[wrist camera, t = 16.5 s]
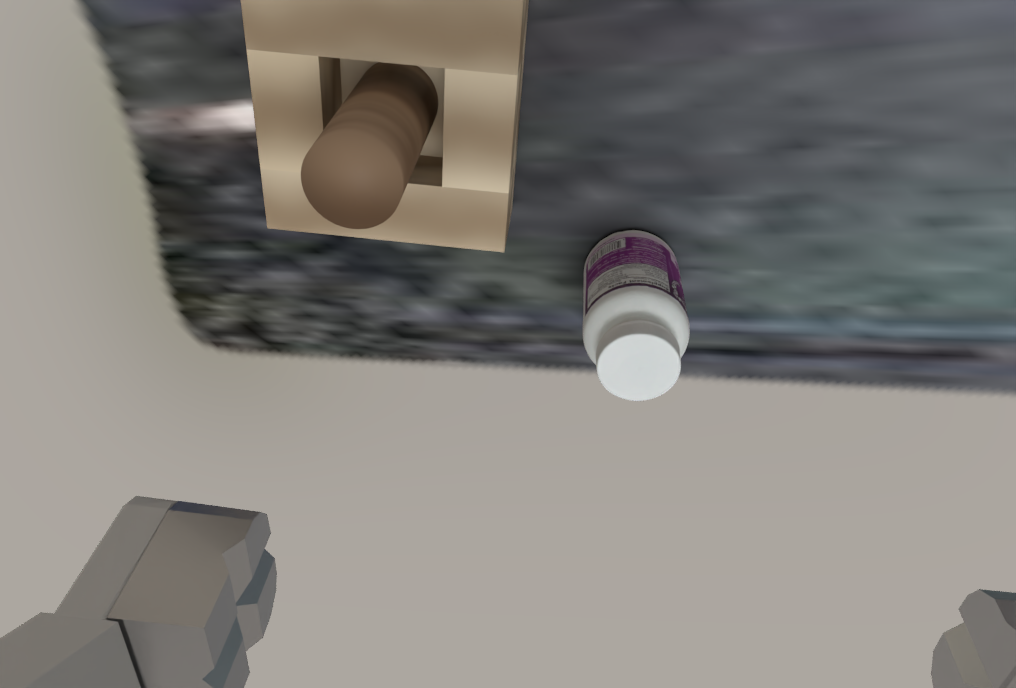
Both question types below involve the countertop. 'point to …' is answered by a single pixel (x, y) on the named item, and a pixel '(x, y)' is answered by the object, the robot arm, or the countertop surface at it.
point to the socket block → (456, 129)
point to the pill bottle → (634, 314)
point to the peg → (371, 146)
